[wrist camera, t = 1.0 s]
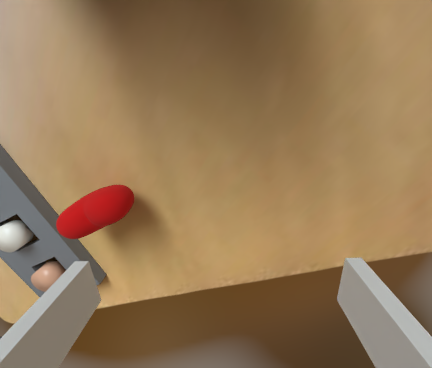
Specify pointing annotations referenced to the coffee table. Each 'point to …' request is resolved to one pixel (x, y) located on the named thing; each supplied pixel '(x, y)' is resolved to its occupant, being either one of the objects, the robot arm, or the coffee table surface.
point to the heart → (95, 211)
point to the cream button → (14, 235)
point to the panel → (35, 227)
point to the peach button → (47, 275)
